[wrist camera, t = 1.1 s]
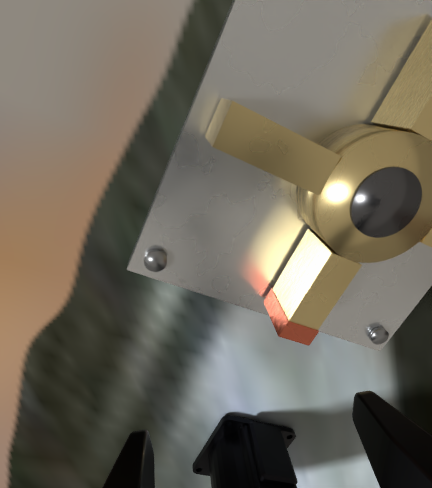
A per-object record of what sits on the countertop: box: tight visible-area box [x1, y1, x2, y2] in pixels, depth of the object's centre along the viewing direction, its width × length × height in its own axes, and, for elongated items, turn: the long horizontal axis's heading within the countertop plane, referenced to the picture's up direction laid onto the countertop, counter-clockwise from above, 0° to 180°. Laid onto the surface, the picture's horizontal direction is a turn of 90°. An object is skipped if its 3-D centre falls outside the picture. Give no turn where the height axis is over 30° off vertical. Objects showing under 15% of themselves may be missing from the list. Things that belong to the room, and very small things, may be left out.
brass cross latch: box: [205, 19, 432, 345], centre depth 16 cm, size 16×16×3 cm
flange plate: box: [127, 0, 432, 351], centre depth 18 cm, size 18×18×2 cm
